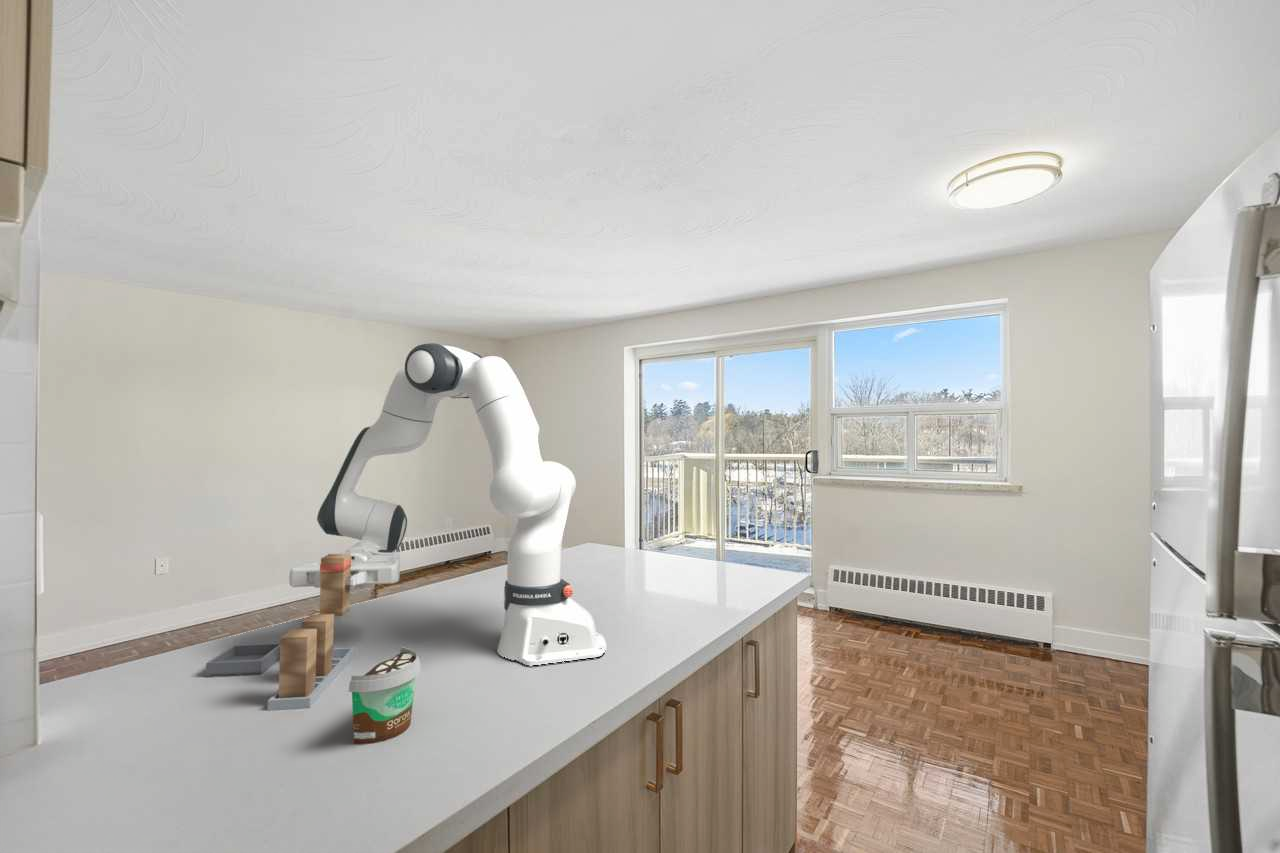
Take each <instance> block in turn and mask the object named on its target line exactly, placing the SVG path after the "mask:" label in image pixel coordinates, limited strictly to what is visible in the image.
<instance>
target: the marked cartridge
mask: <svg viewBox="0 0 1280 853" xmlns="http://www.w3.org/2000/svg"><path fill="white" fill-rule="evenodd" d="M320 562H321V564H320V572H321V580H320V587H319V588H320V589H319V590H320V591H319V615H320V614H334V617H342V616H344V615H346V613H347V612H349V610H350V603H351V602H350V599H351V598H350V596H351V594H350V593H351V589H350V586H345V583H346V582H345V578H346V577H347V576H350V567H351V554H340V553H328V554H326V555H325V556H323V557H320Z"/></svg>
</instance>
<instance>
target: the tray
mask: <svg viewBox="0 0 1280 853" xmlns="http://www.w3.org/2000/svg"><path fill="white" fill-rule="evenodd" d="M278 661H280V642H278V643H277V642H276V643H275V642H273V643H270V642H269V643H252V644H251V643H250V644H249V643H246V644H232V645H231V646H230V647H228V648H226V649H225V650H223V652H221V653H219V654H218V655H217V656H214V657H213V658H212V659H210V660H209V661H207V662H206V665H205V678H210V677H209V676H221V677H238V676H239V675H242V676H257V675H259V676H260V675H263V674H264V673H265V672H266V671H267V670H268V669H270V668H271V667H272V666H273V665H274V664H276V662H278ZM234 675H235V676H234ZM239 677H240V676H239Z"/></svg>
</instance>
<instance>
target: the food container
mask: <svg viewBox="0 0 1280 853" xmlns="http://www.w3.org/2000/svg"><path fill="white" fill-rule="evenodd" d="M420 662H421V660H420V658H419V656H418V653H417V652H416V651H415V650H413V649H411V648H409V647H408V648H407V647H403V646H400V649H399V653H398V654H396V655H395V656H393V657H392V658H390V659H388V660H384V661H382V662H380V663H378V664H376V665H374V666H373V667H372V668H371V669H370V670H369V671H367V672H366V673H365V674H363V675H356V674H355V675H353V674H352V675H351V679H350V681H349V684H348V686H349V687H348V692H349V693H350V692H351V700H352V702H351V704H352V706H351V707H352V723H353V726H352V727H353V730H352V731H353V744H356V745H367V744H377V743H383V742H386V741H390V740H391V739H394V738H397V737H399V736H400V735H402V734H404V733H405V732H406V731H407V730H408V729H409V728H410V726H411V724H412V723H411V722H412V721H411V720H412V713H413V712H412V711H413V703H414V702H413V701H414V695H415V684H416V677H417V676H418V675H419V674H420V672H421V669H422V668H421V663H420Z"/></svg>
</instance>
